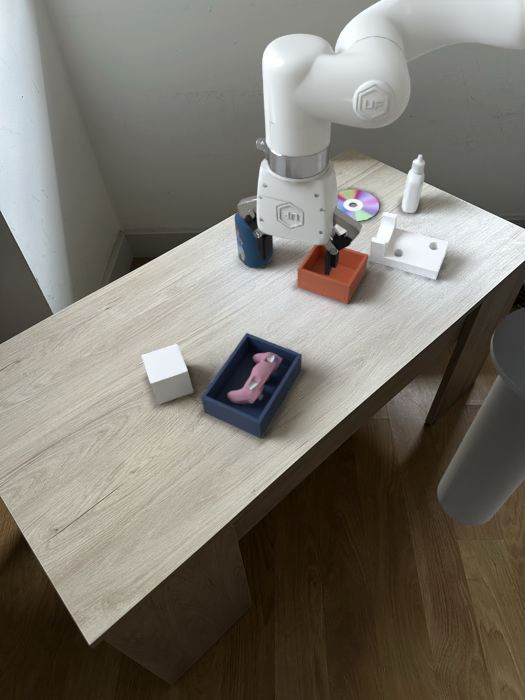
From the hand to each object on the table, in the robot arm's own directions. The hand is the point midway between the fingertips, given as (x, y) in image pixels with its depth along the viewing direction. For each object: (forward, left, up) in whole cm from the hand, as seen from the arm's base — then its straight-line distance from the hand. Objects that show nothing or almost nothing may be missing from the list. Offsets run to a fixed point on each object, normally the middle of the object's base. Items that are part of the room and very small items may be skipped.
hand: (297, 261), depth 76 cm
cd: (+6, -40, -19) cm, 44 cm away
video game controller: (+2, +12, -18) cm, 22 cm away
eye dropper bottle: (-5, -45, -19) cm, 49 cm away
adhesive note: (+15, +17, -19) cm, 30 cm away
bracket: (-10, -28, -19) cm, 35 cm away
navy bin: (+2, +12, -19) cm, 22 cm away
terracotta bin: (+1, -17, -19) cm, 25 cm away
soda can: (+17, -16, -19) cm, 30 cm away
